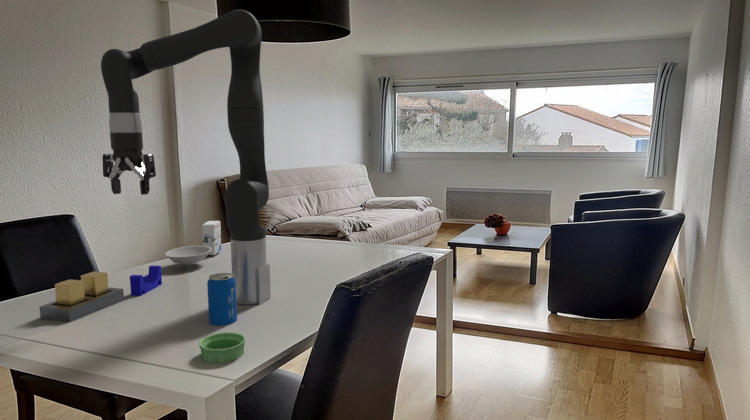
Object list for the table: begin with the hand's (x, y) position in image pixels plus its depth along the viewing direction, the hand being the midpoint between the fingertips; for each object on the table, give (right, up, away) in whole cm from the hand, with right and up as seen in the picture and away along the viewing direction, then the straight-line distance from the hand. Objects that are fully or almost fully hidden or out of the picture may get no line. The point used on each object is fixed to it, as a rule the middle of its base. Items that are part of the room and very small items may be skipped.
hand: (130, 194), depth 137 cm
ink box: (+1, -21, +65) cm, 68 cm away
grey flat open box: (-12, -30, 0) cm, 32 cm away
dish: (-1, -24, +46) cm, 52 cm away
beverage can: (+27, -32, -10) cm, 43 cm away
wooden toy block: (-13, -30, -4) cm, 33 cm away
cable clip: (-4, -28, +18) cm, 33 cm away
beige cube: (-11, -29, +3) cm, 31 cm away
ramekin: (+33, -35, -30) cm, 57 cm away
